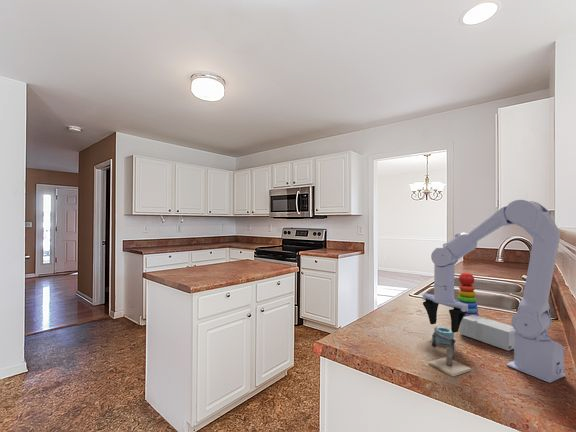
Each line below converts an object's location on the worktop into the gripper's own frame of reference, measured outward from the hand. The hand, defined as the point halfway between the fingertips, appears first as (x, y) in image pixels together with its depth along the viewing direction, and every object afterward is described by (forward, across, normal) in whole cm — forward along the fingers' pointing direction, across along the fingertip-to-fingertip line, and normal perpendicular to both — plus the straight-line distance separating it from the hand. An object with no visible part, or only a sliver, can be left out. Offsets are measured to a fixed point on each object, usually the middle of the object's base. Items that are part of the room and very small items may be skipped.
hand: (443, 327), depth 95 cm
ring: (+4, 0, 0) cm, 4 cm away
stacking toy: (+4, +8, -25) cm, 27 cm away
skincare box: (+1, +1, -13) cm, 13 cm away
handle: (+4, -6, +8) cm, 11 cm away
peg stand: (+4, -12, +14) cm, 19 cm away
